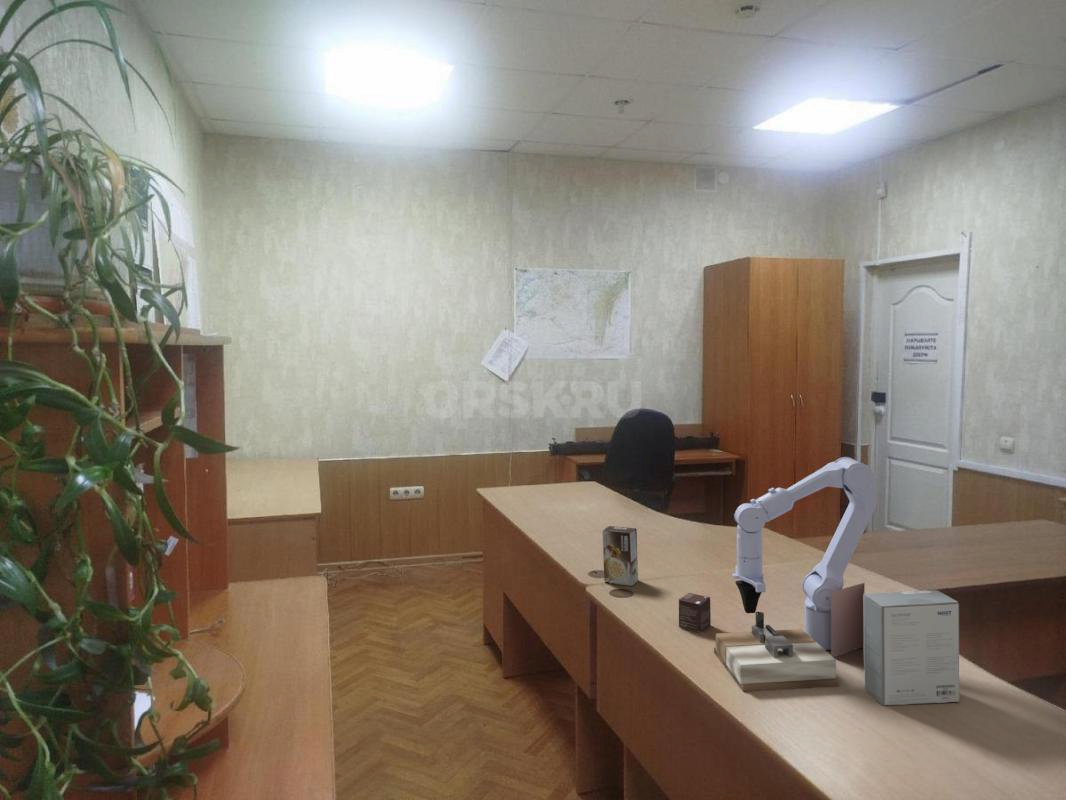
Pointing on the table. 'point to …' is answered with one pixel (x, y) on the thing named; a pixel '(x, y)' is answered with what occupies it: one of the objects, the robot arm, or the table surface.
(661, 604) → the table surface
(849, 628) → the greeting card
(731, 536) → the table surface
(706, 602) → the box
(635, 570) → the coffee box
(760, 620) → the bolt
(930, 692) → the hard drive box
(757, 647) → the wooden board with latch
